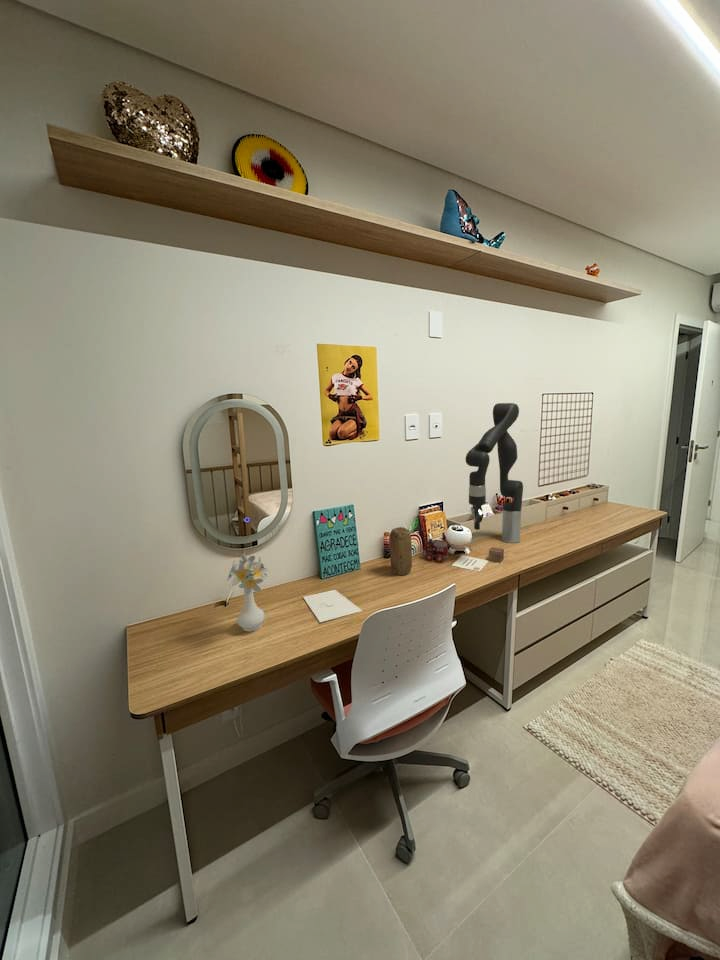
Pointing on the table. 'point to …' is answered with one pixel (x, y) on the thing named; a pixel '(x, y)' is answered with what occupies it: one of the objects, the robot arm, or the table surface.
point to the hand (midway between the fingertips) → (476, 529)
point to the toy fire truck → (436, 550)
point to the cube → (496, 554)
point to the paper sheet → (330, 605)
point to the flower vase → (249, 591)
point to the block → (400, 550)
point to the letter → (470, 563)
